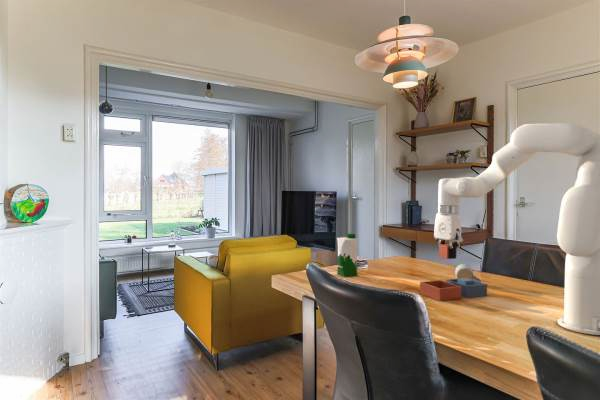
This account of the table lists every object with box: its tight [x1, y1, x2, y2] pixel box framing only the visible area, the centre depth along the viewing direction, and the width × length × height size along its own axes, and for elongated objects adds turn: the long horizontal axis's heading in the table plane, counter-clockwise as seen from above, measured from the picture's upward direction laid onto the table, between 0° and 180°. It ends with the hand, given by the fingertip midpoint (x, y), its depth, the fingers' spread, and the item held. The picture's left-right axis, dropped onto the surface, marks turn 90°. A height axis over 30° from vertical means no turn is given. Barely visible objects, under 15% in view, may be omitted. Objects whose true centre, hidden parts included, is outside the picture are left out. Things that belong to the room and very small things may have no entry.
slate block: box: [456, 278, 474, 286], centre depth 147 cm, size 4×4×5 cm
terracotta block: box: [438, 243, 450, 260], centre depth 141 cm, size 4×4×5 cm
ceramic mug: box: [454, 263, 482, 283], centre depth 164 cm, size 11×8×8 cm
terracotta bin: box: [419, 279, 462, 302], centre depth 142 cm, size 11×10×4 cm
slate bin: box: [445, 278, 488, 299], centre depth 146 cm, size 11×10×4 cm
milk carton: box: [336, 233, 359, 278], centre depth 178 cm, size 9×9×20 cm
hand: (447, 256), depth 141 cm, fingers closed on terracotta block, 4 cm apart
